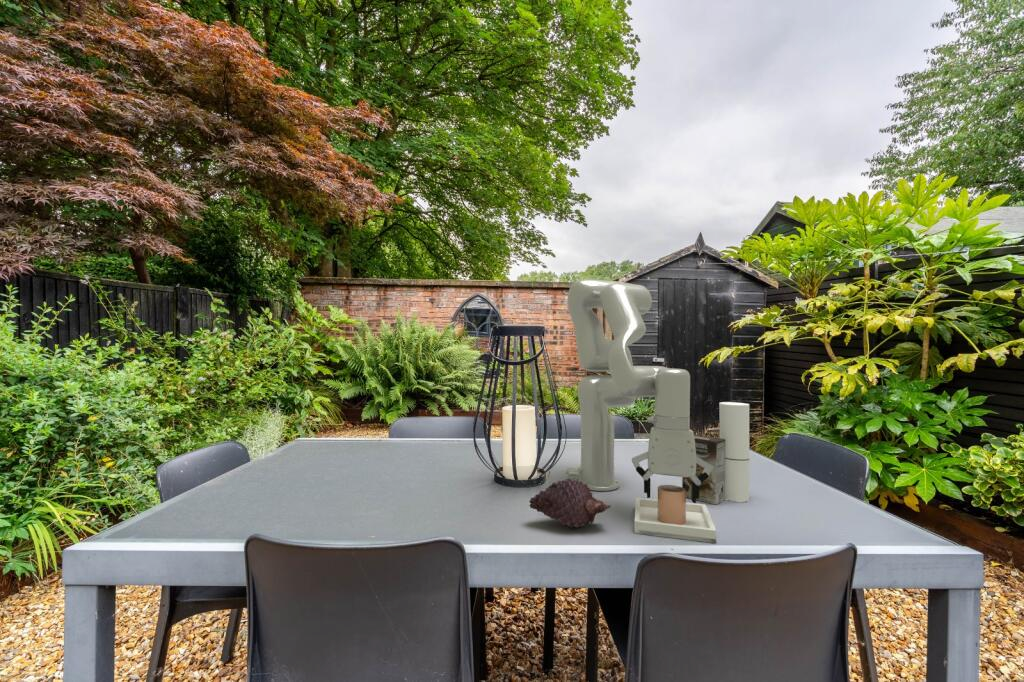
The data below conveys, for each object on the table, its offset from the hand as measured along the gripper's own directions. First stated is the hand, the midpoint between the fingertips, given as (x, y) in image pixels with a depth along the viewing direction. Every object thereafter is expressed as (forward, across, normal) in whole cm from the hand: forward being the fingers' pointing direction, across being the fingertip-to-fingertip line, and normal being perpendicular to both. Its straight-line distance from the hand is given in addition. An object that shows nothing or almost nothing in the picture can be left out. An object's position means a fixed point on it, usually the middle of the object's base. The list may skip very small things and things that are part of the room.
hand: (670, 498), depth 100 cm
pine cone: (+6, -22, -8) cm, 24 cm away
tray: (+6, 0, 0) cm, 6 cm away
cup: (+5, 0, 0) cm, 5 cm away
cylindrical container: (+6, +17, +24) cm, 30 cm away
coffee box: (+6, +9, +21) cm, 23 cm away
